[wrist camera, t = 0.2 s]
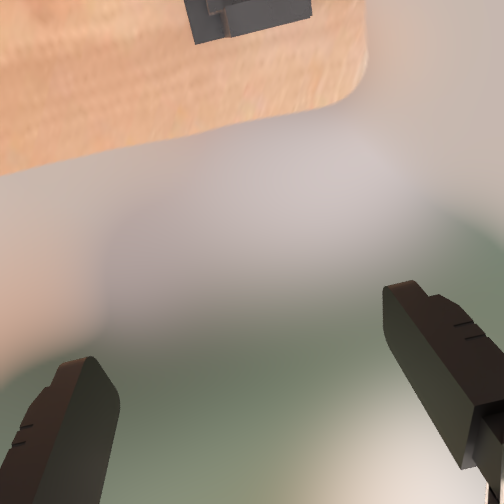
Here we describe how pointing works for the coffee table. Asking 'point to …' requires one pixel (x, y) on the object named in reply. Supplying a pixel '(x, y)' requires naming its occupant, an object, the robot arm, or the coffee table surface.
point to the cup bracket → (241, 16)
